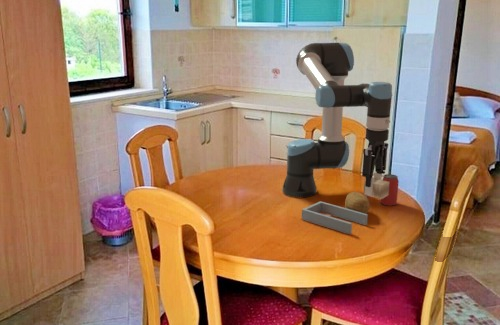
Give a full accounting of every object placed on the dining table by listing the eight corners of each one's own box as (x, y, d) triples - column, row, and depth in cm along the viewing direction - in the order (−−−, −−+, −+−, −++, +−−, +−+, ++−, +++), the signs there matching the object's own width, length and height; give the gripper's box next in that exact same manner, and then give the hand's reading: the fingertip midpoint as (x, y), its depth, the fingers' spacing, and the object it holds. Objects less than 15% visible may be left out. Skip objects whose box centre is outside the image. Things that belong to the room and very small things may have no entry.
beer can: (397, 206, 203) (399, 179, 200) (380, 205, 204) (382, 178, 201) (396, 201, 209) (398, 174, 206) (379, 200, 211) (382, 173, 207)
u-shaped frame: (301, 219, 190) (301, 209, 189) (320, 210, 199) (320, 201, 198) (349, 234, 176) (350, 224, 175) (367, 224, 185) (367, 214, 184)
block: (364, 181, 173) (382, 185, 168) (371, 177, 176) (389, 181, 172) (363, 194, 174) (381, 199, 170) (370, 190, 178) (388, 195, 173)
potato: (363, 206, 203) (364, 188, 201) (374, 219, 190) (375, 200, 188) (339, 207, 203) (340, 188, 200) (349, 220, 189) (350, 200, 187)
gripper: (374, 134, 159) (369, 202, 166) (399, 125, 172) (394, 189, 179) (353, 131, 164) (349, 197, 171) (380, 122, 177) (375, 184, 183)
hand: (372, 192), depth 175 cm, fingers closed on block, 5 cm apart
